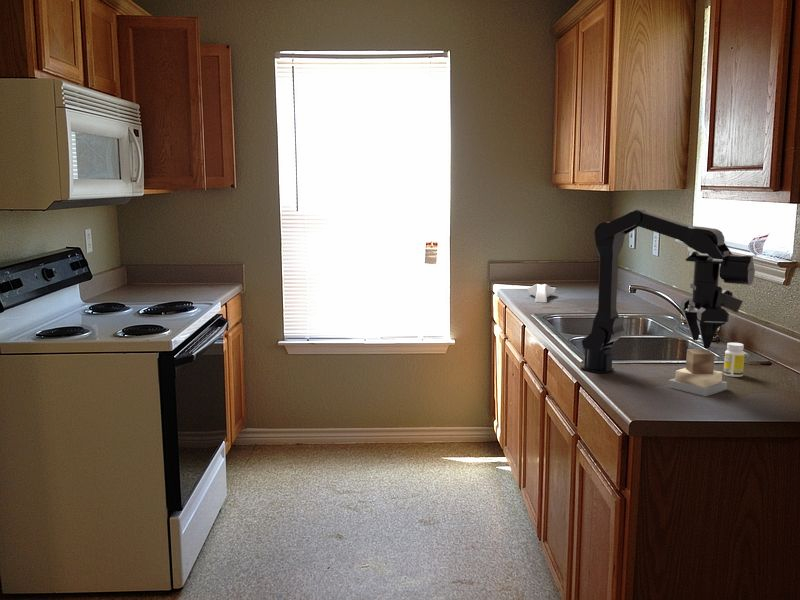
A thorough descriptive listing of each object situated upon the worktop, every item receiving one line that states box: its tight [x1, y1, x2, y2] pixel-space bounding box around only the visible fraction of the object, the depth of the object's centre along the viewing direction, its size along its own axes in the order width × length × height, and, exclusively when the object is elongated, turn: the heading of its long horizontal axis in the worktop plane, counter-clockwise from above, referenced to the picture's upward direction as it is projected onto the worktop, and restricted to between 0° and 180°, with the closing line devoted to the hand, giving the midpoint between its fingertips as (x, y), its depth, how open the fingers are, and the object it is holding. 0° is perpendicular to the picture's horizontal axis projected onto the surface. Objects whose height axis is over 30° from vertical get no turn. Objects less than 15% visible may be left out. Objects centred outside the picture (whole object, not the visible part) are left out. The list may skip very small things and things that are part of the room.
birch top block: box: [674, 367, 724, 387], centre depth 188 cm, size 8×8×2 cm
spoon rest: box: [527, 283, 556, 304], centre depth 326 cm, size 24×12×7 cm, turn 170°
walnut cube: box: [685, 348, 716, 374], centre depth 188 cm, size 5×5×5 cm
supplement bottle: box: [723, 342, 746, 378], centre depth 202 cm, size 5×5×8 cm
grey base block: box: [667, 377, 728, 397], centre depth 189 cm, size 10×10×2 cm
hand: (700, 344), depth 187 cm, fingers open, 9 cm apart
